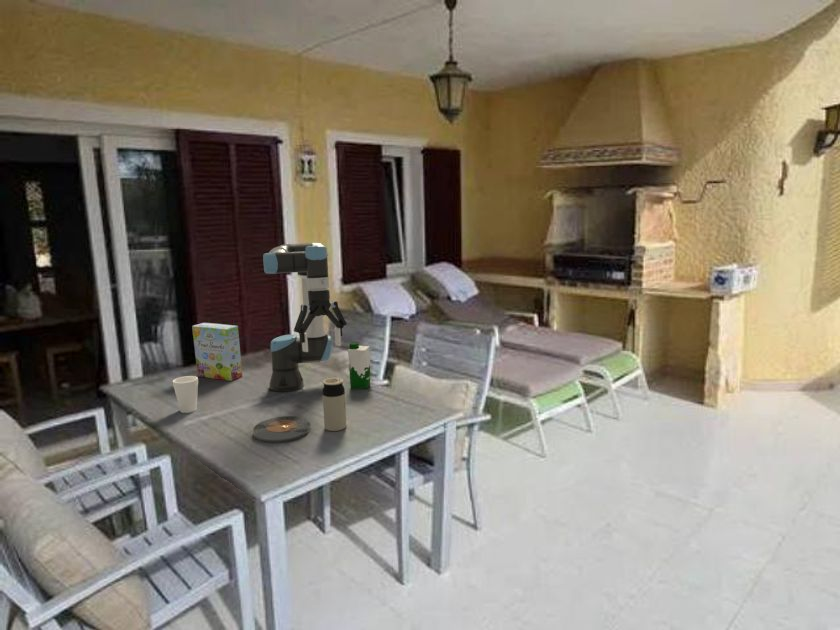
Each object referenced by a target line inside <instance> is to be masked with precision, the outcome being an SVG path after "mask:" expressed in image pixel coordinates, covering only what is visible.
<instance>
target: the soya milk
mask: <svg viewBox="0 0 840 630" xmlns="http://www.w3.org/2000/svg"><path fill="white" fill-rule="evenodd" d="M347 353H348V354H347V355H348V367H349V369H348V371H349V384H350V389H356V390H358V389H359V390H366V389H368V387H369V386H370V385H371V354H370V346H369V345H368V346H367V345H360V344H359V342H349V348H348V349H347Z"/></svg>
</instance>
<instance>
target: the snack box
mask: <svg viewBox="0 0 840 630" xmlns="http://www.w3.org/2000/svg"><path fill="white" fill-rule="evenodd" d="M191 327H192V328H191V329H192V336H193V337H192V338H193V346H194V355H195V363H196V373H197V377H201V378H207V379H208V378H209V379H213V380H214V379H215V380H223V381H228V382H229V381H230V382H232V381H235V380H237V379H240V378H242V377H243V372H242V371H243V370H242V369H243V368H242V357H241V347H240V346H241V345H240V335H239V325H234V324H233V325H232V324H223V323H211V322H201V323H199V324H194V325H192V326H191Z"/></svg>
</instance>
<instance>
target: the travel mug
mask: <svg viewBox="0 0 840 630" xmlns="http://www.w3.org/2000/svg"><path fill="white" fill-rule="evenodd" d="M343 383H344V379H343V378H342V377H341V378H340V377H329V378H325V379H323V380H322V384H323V388H322V406H323V423H324V429H325V430H326V431H329V432H338V431H341V430H344V429H345V428H347V412H346V411H347V408H346V391H345V389H346V388H345V387H344V385H343Z"/></svg>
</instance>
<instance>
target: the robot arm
mask: <svg viewBox="0 0 840 630" xmlns="http://www.w3.org/2000/svg"><path fill="white" fill-rule="evenodd" d="M327 250H328V249H327V247H326V245H323V244H322V243H320V242H305V243H304V242H303V243H285V244H281V245H278V246H275V247H273V248H272V249H271V250H270V251H269V252H266V253H263V256H262V258H263V260H262V262H263V270H264V273H265V274H272V275H273V274H274V275H276V274H287V273H288V274H290V273H297V276H298V277H300V278H301V291H302V292H301V293H302V294H301V295H302V304H301V305H300V311H299V315H298V317H297V319H296V322H295V325H294V328H293V332H294V333H298V334H299V335H298V336H299V337H297V335H296V334H294V333H292V334H284V335H280V336H278V337H275V338H273V339H272V340H271V341H270V350H269V351H270V353H271V354H270V355H271V356H270V357H271V367H272V368H271V369H272V370H271V371H272V372H271V376H270V379H269V390H270V391H274V392H279V393H284V392H285V393H286V392H293V391H297V390H300V389H301V388H303V387H304V386H305V385H304V384H305V383H304V378H303V377H302V374H301V372H300V368H299V365H300V364H308V363H320V362H327V361H329V359H330V357H331V352H332V337H331V335H328V331H327V330H326V329H325V324H324V316H326V317H327V318H328V319H329V320H330V321H331V323H333V325H335V326H334V342H335V343H334V344H335V345H334V346H337V347H341V346H342V337H343V328H344V327H345V326H346V325H347V320H346V319H345V317H344V316H343V313H342V312H341V310H340V308H339V302H338V301H336V300H332V301H331V302H330V299H331V295H330V294H331V293H330V290H329V288H330V283H329V280H330V279H329V265H328V261H329V260H328V256H329V254H328V251H327ZM330 308H331V309H332V311H333V312H332V311H331V310H330ZM333 313H334V314H333Z"/></svg>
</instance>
